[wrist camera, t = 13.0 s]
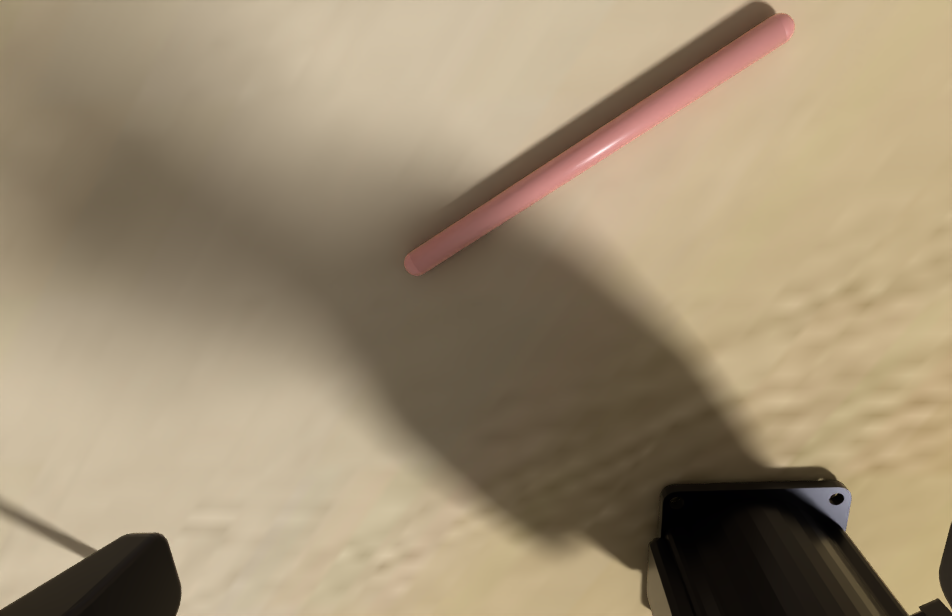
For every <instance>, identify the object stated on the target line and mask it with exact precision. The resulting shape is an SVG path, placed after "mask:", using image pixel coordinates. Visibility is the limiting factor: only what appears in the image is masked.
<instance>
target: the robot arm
mask: <svg viewBox="0 0 952 616" xmlns="http://www.w3.org/2000/svg"><path fill="white" fill-rule="evenodd" d="M836 493H838V494H837V495H836V496H835V497H832V498H830V497H831V496H832V495H833V494H836ZM676 497H679V498H680V499H679V500H678V501H675V502H671V500H672V499H673V498H676ZM850 504H851V493H850V492H849V490H848V489H847V488H846V487H845V486H844V484H843V483H841V482H839V481H835V480H822V481H785V482H747V483H710V484H674V485H669V486H667V487H665V488H664V489H663V490H662V492H661V494H660V503H659V523H658V538H653V540H652V541H651V542H650V543H649V550H648V573H647V597H648V601H649V604H650V608H651V611H652V615H653V616H909V615H908V613H907V612H906V611H905V609H904V608H903V607H902V605H901V604H900V603H899V601H898V600H897V599H896V598H895V596H894V595H893V594H892V592H891V591H890V590H889V588H888V587H887V586H886V584H885V583H884V582H883V580H882V579H881V578H880V577H879V575H878V574H877V573H876V571H875V570H874V569H873V567H872V566H871V565H870V563H869V562H868V561H867V560H866V558H865V557H864V556H863V554H862V553H861V552H860V550H859V549H858V548H857V546H856V545H855V544H854V543H853V541H852V540H851V539H850V537H849V536H848V535H847V533H846V526H847V521H848V515H849V510H850ZM939 580H940V585H941V588H942V591H943V593H944V595H945V597H946V599H947V601H948V603H949V604H950V606H951V608H952V523H951V525H950V529H949V533H948V537H947V541H946V545H945V549H944V553H943V556H942V560H941V564H940V569H939ZM180 601H181V584H180V580H179V577H178V573H177V570H176V567H175V563H174V560H173V557H172V553H171V550H170V547H169V543H168V541H167V539H166V538H165V537H164V536H163V535H162V534H159V533H131V534H126V535H124V536H122V537H120V538H118V539H117V540H115V541H113V542H112V543H110V544H108V545H107V546H105V547H103V548H102V549H100V550H98V551H97V552H95V553H93V554H92V555H90V556H89V557H87V558H85V559H84V560H82V561H80V562H79V563H77V564H75V565H74V566H72V567H70V568H69V569H67V570H65V571H64V572H62V573H61V574H59V575H57V576H56V577H54V578H52V579H51V580H49V581H47V582H46V583H44V584H42V585H41V586H39V587H37V588H36V589H34V590H33V591H31V592H29V593H28V594H26V595H24V596H23V597H21V598H19V599H18V600H16V601H14V602H13V603H11V604H9V605H8V606H6V607H5V608H3V609H1V610H0V616H176V614H177V612H178V609H179V605H180ZM919 608H920V610H921V611H919V612H917V613H914V614H912V615H910V616H952V613H951V611H950V610H949V609H948V608H947V607H946V606H945V605H944V604H943V603H942V602H941V601H940V600H939V599H935V600H933V601H931V602H929V603H926V604H924V605H922V606H920V607H919Z"/></svg>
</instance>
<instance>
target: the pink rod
mask: <svg viewBox="0 0 952 616" xmlns="http://www.w3.org/2000/svg"><path fill="white" fill-rule="evenodd" d="M794 29H795V24H794V21H793V19H792V18H791V17H790V16H789V15H787V14H784V13H778V14H775V15H773V16H771V17H769V18H768V19H766V20H765V21H763V22H762V23H760V24H759V25H757V26H755V27H754V28H752V29H751V30H749V31H748V32H746V33H745V34H743V35H742V36H740V37H739V38H737V39H736V40H734V41H732V42H731V43H729V44H728V45H726V46H725V47H723V48H722V49H720V50H719V51H717V52H716V53H714V54H713V55H711V56H710V57H708V58H706V59H705V60H703V61H702V62H700V63H699V64H697V65H696V66H694V67H693V68H691V69H690V70H688V71H687V72H685V73H684V74H682V75H680V76H679V77H677V78H676V79H674V80H673V81H671V82H670V83H668V84H667V85H665V86H664V87H662V88H661V89H659V90H657V91H656V92H654V93H653V94H651V95H650V96H648V97H647V98H645V99H644V100H642V101H641V102H639V103H638V104H636V105H635V106H633V107H631V108H630V109H628V110H627V111H625V112H624V113H622V114H621V115H619V116H618V117H616V118H615V119H613V120H612V121H610V122H609V123H607V124H605V125H604V126H602V127H601V128H599V129H598V130H596V131H595V132H593V133H592V134H590V135H589V136H587V137H586V138H584V139H582V140H581V141H579V142H578V143H576V144H575V145H573V146H572V147H570V148H569V149H567V150H566V151H564V152H563V153H561V154H560V155H558V156H556V157H555V158H553V159H552V160H550V161H549V162H547V163H546V164H544V165H543V166H541V167H540V168H538V169H537V170H535V171H534V172H532V173H530V174H529V175H527V176H526V177H524V178H523V179H521V180H520V181H518V182H517V183H515V184H514V185H512V186H511V187H509V188H507V189H506V190H504V191H503V192H501V193H500V194H498V195H497V196H495V197H494V198H492V199H491V200H489V201H488V202H486V203H485V204H483V205H481V206H480V207H478V208H477V209H475V210H474V211H472V212H471V213H469V214H468V215H466V216H465V217H463V218H462V219H460V220H458V221H457V222H455V223H454V224H452V225H451V226H449V227H448V228H446V229H445V230H443V231H442V232H440V233H439V234H437V235H436V236H434V237H432V238H431V239H429V240H428V241H426V242H425V243H423V244H422V245H420V246H419V247H417V248H416V249H414V250H413V251H411V252H410V253H408V254H407V256H406V257H405V260H404V266H405V269H406V270H407V272H408V273H410V274H411V275H415V276H419V275H422V274H424V273H426V272H427V271H429V270H431V269H432V268H434V267H435V266H437V265H438V264H440V263H441V262H443V261H445V260H446V259H448V258H449V257H451V256H452V255H454V254H456V253H457V252H459V251H460V250H462V249H463V248H465V247H466V246H468V245H470V244H471V243H473V242H474V241H476V240H477V239H479V238H481V237H482V236H484V235H485V234H487V233H488V232H490V231H492V230H493V229H495V228H496V227H498V226H499V225H501V224H502V223H504V222H506V221H507V220H509V219H510V218H512V217H513V216H515V215H517V214H518V213H520V212H521V211H523V210H524V209H526V208H527V207H529V206H531V205H532V204H534V203H535V202H537V201H538V200H540V199H542V198H543V197H545V196H546V195H548V194H549V193H551V192H553V191H554V190H556V189H557V188H559V187H560V186H562V185H563V184H565V183H567V182H568V181H570V180H571V179H573V178H574V177H576V176H578V175H579V174H581V173H582V172H584V171H585V170H587V169H589V168H590V167H592V166H593V165H595V164H596V163H598V162H599V161H601V160H603V159H604V158H606V157H607V156H609V155H610V154H612V153H614V152H615V151H617V150H618V149H620V148H621V147H623V146H624V145H626V144H628V143H629V142H631V141H632V140H634V139H635V138H637V137H639V136H640V135H642V134H643V133H645V132H646V131H648V130H650V129H651V128H653V127H654V126H656V125H657V124H659V123H660V122H662V121H664V120H665V119H667V118H668V117H670V116H671V115H673V114H675V113H676V112H678V111H679V110H681V109H682V108H684V107H685V106H687V105H689V104H690V103H692V102H693V101H695V100H696V99H698V98H700V97H701V96H703V95H704V94H706V93H707V92H709V91H711V90H712V89H714V88H715V87H717V86H718V85H720V84H721V83H723V82H725V81H726V80H728V79H729V78H731V77H732V76H734V75H736V74H737V73H739V72H740V71H742V70H743V69H745V68H746V67H748V66H750V65H751V64H753V63H754V62H756V61H757V60H759V59H761V58H762V57H764V56H765V55H767V54H768V53H770V52H772V51H773V50H775V49H776V48H778V47H779V46H781V45H782V44H784V43H786V42H787V41H788V40H789V39H790V38H791V37H792V35H793V33H794Z"/></svg>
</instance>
